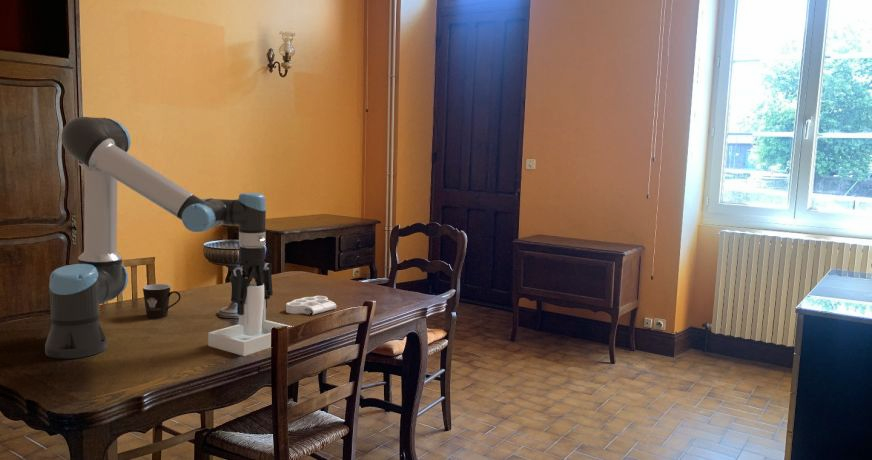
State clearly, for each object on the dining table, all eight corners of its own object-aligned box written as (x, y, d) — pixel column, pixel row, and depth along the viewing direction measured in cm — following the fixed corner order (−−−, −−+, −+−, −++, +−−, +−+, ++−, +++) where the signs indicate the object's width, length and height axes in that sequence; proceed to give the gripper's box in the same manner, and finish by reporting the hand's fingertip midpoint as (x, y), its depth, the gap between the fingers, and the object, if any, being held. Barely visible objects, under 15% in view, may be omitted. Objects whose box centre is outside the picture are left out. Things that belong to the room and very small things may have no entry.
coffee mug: (137, 316, 223) (136, 287, 222) (158, 311, 230) (158, 283, 229) (161, 322, 218) (161, 292, 216) (182, 316, 225) (182, 287, 224)
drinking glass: (269, 333, 200) (269, 284, 198) (251, 338, 195) (251, 287, 193) (253, 329, 204) (253, 281, 202) (235, 334, 198) (235, 284, 196)
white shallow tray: (244, 356, 187) (244, 342, 187) (208, 345, 195) (208, 332, 195) (294, 339, 204) (294, 326, 204) (259, 330, 212) (259, 318, 211)
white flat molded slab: (306, 318, 230) (277, 311, 238) (342, 309, 244) (313, 302, 252) (306, 309, 229) (277, 302, 237) (342, 300, 244) (313, 293, 252)
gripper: (235, 251, 186) (235, 332, 189) (285, 243, 202) (285, 318, 205) (216, 248, 189) (217, 327, 193) (268, 241, 206) (267, 313, 209)
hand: (252, 322), depth 199 cm, fingers closed on drinking glass, 7 cm apart
